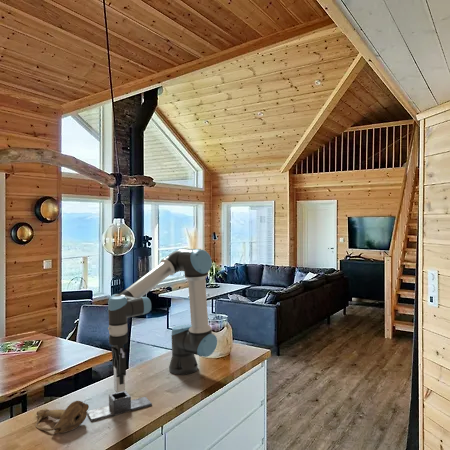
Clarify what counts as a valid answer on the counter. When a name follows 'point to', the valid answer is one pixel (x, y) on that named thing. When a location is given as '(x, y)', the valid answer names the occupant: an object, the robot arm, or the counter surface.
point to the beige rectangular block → (116, 378)
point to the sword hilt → (65, 417)
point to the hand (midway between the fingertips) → (119, 389)
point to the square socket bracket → (118, 406)
